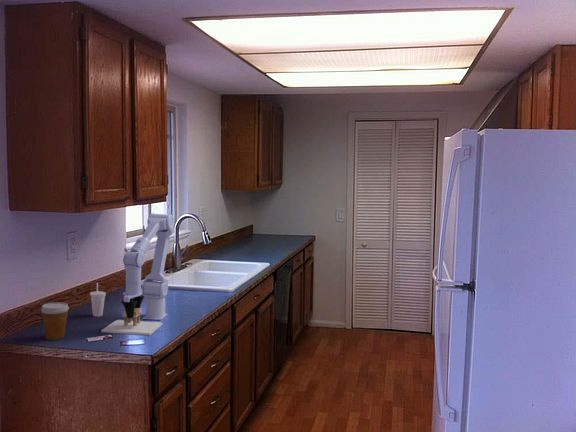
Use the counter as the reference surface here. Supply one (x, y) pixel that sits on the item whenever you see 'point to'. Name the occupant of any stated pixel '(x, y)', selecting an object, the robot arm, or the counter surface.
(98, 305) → the smoothie
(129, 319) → the stool
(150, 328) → the cutting board
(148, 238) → the robot arm
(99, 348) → the counter surface
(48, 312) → the disposable coffee cup
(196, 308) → the counter surface
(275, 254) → the counter surface
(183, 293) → the counter surface
